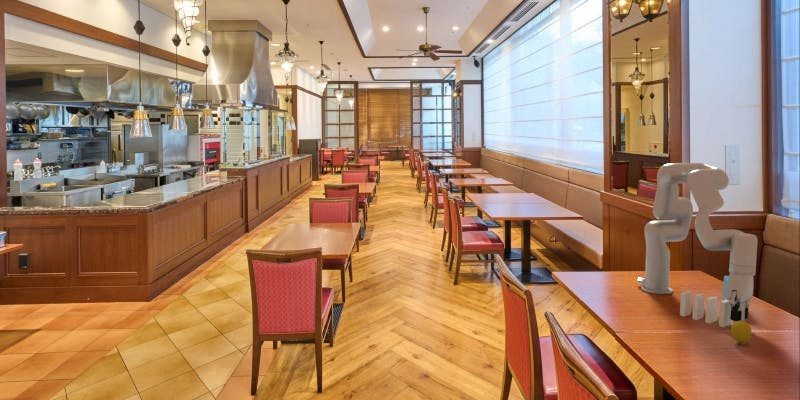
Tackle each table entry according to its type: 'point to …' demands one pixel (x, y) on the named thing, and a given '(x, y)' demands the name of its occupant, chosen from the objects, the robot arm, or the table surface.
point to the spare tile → (742, 311)
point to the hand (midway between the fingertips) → (739, 318)
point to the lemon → (741, 332)
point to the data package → (725, 287)
